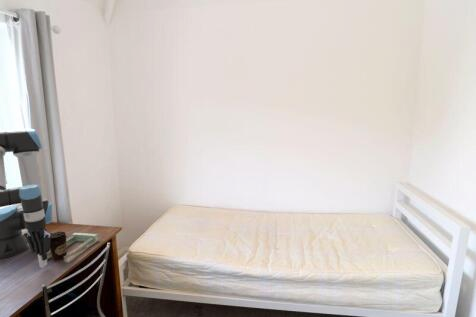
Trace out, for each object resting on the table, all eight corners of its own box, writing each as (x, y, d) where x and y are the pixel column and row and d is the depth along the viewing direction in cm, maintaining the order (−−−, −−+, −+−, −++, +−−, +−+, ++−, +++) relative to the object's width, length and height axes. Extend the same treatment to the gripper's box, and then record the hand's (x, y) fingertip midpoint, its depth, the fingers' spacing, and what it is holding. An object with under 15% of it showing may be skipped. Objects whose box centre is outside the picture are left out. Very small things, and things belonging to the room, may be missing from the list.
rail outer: (64, 262, 134) (63, 256, 133) (92, 242, 153) (91, 237, 153) (68, 262, 134) (67, 257, 133) (95, 242, 153) (94, 237, 152)
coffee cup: (74, 254, 141) (70, 230, 139) (62, 263, 133) (58, 238, 131) (58, 253, 142) (54, 230, 140) (46, 262, 134) (41, 238, 132)
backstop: (72, 240, 155) (71, 234, 155) (75, 239, 157) (74, 232, 157) (95, 242, 153) (94, 235, 152) (97, 240, 155) (97, 234, 154)
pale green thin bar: (42, 260, 136) (41, 255, 135) (72, 240, 155) (72, 236, 155) (46, 260, 136) (45, 255, 135) (75, 241, 155) (75, 236, 154)
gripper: (15, 221, 121) (24, 269, 126) (40, 223, 119) (48, 271, 123) (30, 215, 128) (38, 260, 133) (54, 216, 126) (62, 262, 131)
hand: (43, 265), depth 128 cm, fingers closed
